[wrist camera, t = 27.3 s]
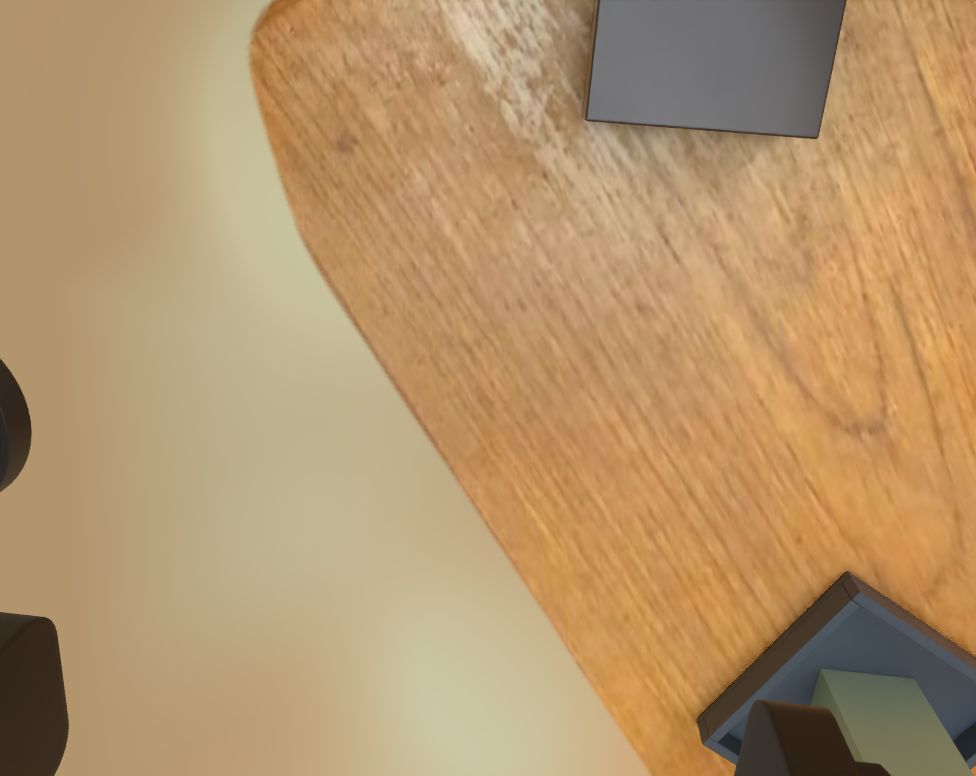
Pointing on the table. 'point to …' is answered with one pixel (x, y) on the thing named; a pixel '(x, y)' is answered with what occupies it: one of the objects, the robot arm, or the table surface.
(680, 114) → the riser
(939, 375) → the table surface
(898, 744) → the sage green rectangular prism
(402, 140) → the table surface
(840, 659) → the tray
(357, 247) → the table surface
